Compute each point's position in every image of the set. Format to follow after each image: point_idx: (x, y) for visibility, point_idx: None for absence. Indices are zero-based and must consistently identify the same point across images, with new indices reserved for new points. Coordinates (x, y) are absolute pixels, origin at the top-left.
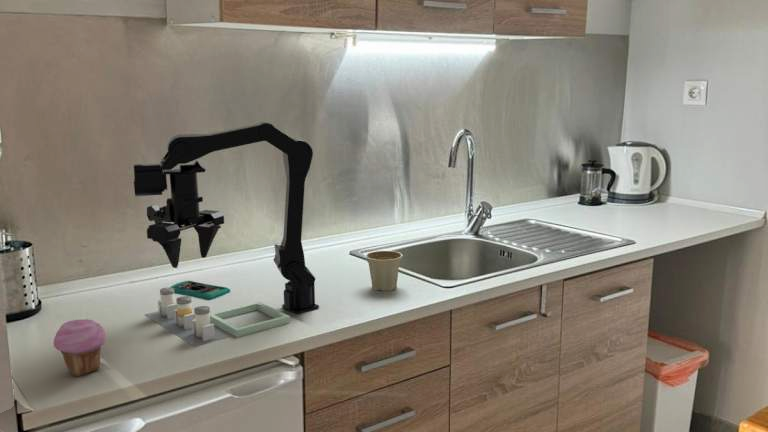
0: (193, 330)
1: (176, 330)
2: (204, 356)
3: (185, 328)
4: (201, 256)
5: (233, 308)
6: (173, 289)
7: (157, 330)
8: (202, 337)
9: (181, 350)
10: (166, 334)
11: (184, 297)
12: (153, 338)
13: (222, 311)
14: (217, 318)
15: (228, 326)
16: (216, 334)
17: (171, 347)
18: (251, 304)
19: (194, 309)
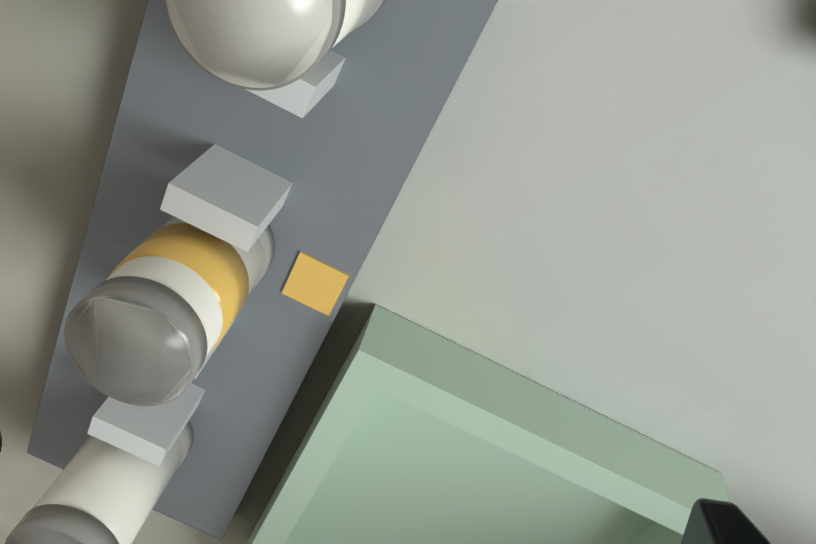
0: None
1: (122, 241)
2: (42, 487)
3: None
4: (694, 510)
5: (540, 446)
6: (285, 79)
7: (134, 31)
8: None
9: (18, 365)
10: None
11: (152, 341)
12: (24, 111)
13: (454, 410)
14: (322, 441)
15: (255, 537)
16: (207, 472)
17: (9, 298)
18: (662, 513)
19: (9, 535)
